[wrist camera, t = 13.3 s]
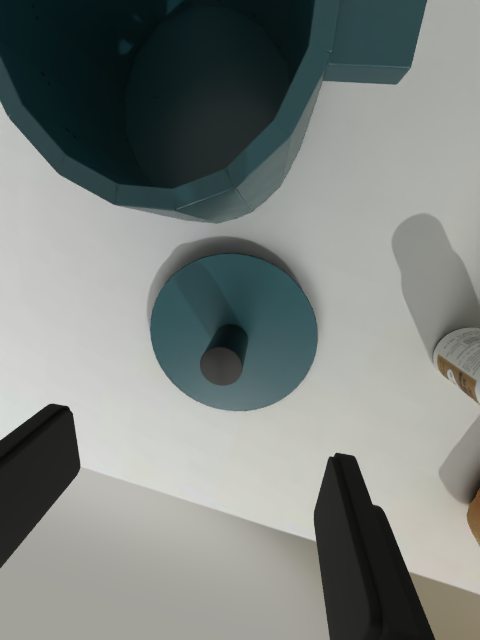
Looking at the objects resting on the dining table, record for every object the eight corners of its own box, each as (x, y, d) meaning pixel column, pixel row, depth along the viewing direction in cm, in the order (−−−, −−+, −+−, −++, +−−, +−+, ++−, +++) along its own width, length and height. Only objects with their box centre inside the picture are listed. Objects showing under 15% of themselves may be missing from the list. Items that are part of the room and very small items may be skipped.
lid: (154, 244, 20) (113, 246, 15) (330, 262, 19) (354, 272, 14) (156, 392, 24) (124, 435, 19) (300, 413, 23) (309, 465, 18)
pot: (71, -8, 16) (-191, -334, 7) (369, 0, 14) (536, -397, 5) (90, 211, 20) (-60, 188, 11) (325, 234, 18) (378, 229, 9)
